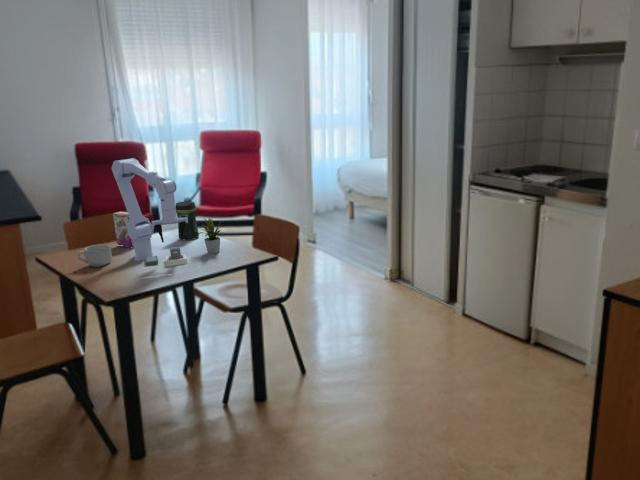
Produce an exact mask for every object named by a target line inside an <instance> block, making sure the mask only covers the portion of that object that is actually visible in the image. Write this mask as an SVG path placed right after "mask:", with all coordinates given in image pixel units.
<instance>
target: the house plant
mask: <svg viewBox="0 0 640 480" xmlns="http://www.w3.org/2000/svg"><path fill="white" fill-rule="evenodd" d="M202 219H203V220H204V222H205V224H206V225H204V224H202V228H204V232H203V231H202V232H201V231H199V230H198V232H199V234H198V235H199V236H200V234H203V235H204V236H205V237H206V238H204V239H203V240H204V243H205V248H206V251H207V253H208V254H211V255H212V254H213V255H214V254H219V253H220V250H221V247H220V246H221V237H220V234H223V233H225V232H224V231H222V230H220V224H221V223H223V222H225V221H222V220H220V221H219V223H218V224H217V226H216V228H215V225H214V220H213V219H212V218H210V217H208V220H207V219H206V218H205V217H202ZM221 221H222V222H221ZM221 231H222V232H221Z"/></svg>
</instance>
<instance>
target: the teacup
mask: <svg viewBox="0 0 640 480" xmlns="http://www.w3.org/2000/svg"><path fill="white" fill-rule="evenodd" d="M81 254H83V255H84V257H85V258H82V257H80V255H81ZM112 255H113V254H112V246H111V245H109V244H92V245H89V246H86V247H85V248H84V250H79V251H78V252H77V254H76V258H77V259H78V260H79V261H81V262H84V263H85V264H88V265H89V266H91V267H93V268H102V267H104V266H106V265H108V264H110V262H111V261H112V258H113V257H112Z"/></svg>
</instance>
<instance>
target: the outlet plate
mask: <svg viewBox="0 0 640 480" xmlns="http://www.w3.org/2000/svg"><path fill="white" fill-rule="evenodd" d="M164 257H165V258H160V259H158V265H151V266H146V262H145V260H141V267H142V268H141V269H142V270H151V269H157V268H165V267H172V266H173V267H174V266H182V265H188V264H192V263H193V262H192V260H191V257H190V255H186V253H181V259H173V260H171V255H165V256H164Z"/></svg>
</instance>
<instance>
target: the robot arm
mask: <svg viewBox="0 0 640 480" xmlns="http://www.w3.org/2000/svg"><path fill="white" fill-rule="evenodd" d="M111 171H112V174H113V176H114V177H113V178H114V179H115V182H116V183H117V187H118V190H119V192H120V195H121V198H122V201H123V203H124V207H125V209H126V212H128V214H129V217H130V221H129V222H128V224H127V228H128V235H129V237H130V238H131V239H132V240H133V241H134V248H133V249H134V261H145V257H151V256H154V253H153V249H152V240H151V239H152V236H153V235H154V228H155V229H156V231H157V233H158V235H159V237H160V240H161V243H163V244H164V235H163V229H162V226H166V225H174V224H178V223H179V227H180V239H179V240H180V241H183V232H184V229H185V226H186V223H188V218H187V217H184V218H178V217H177V213H176V199H175V193H176V191H177V184H176V182H175V180H173V179H172V178H166V177H164V176H162V175H160V174H158V172H157V171H149V169H146V168H145V167H144V166H143V165H142V164H140V162H139V160H137V159H136V158H135V157H131V158H127V159H126V158H125V159H120V160H118V159H116V160H114V161H112V166H111ZM136 175H137V176H139V177H141V178H142V179H145V182H146V184H147V185H149V186H151V187H152V188H153V189H155V191H156V193H157V195H158V198H159V199H160V200H159V201H160V208H161V216H162V219H157V220H151V222H150V220H149V218H148V217H145V216H144V215H143V213H142V211H141V208H140V205H139V202H138V200H137V197H136V194H135V191H134V189H133V186H132V183H131V180H132V179H133V178H135V176H136ZM136 224H137V225H136Z"/></svg>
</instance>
